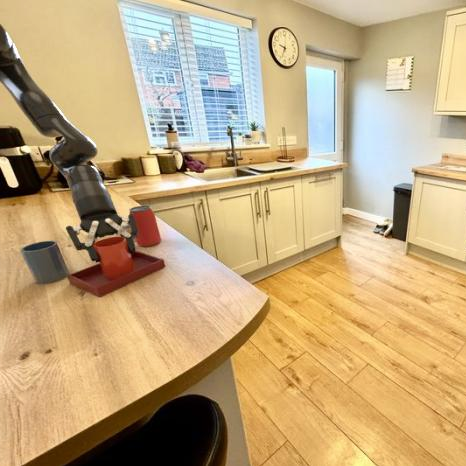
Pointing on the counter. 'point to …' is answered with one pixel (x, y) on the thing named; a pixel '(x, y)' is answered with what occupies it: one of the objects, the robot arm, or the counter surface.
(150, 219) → the beer can
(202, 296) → the counter surface
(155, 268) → the red tray
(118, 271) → the red cup
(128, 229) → the stacked layers on plate
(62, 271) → the blue cup
